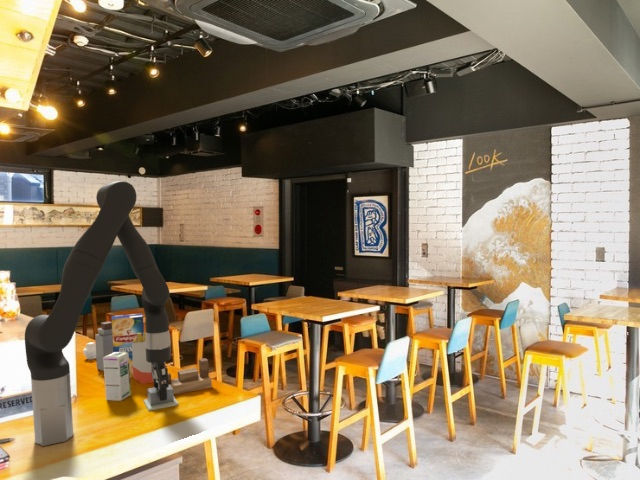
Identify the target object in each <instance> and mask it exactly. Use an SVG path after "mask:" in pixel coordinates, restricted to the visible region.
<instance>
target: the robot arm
mask: <svg viewBox="0 0 640 480" xmlns="http://www.w3.org/2000/svg"><path fill="white" fill-rule="evenodd" d="M137 198H138V197H137V191H136V189H135V187H134V186H133V184H131V183H130V182H127V181H125V180H124V181H122V180H119V181H113V182H109V183H107V184H105V185H102V186H101V187H100V188H99V189H98V190H97V192H96V203H97V206H98V207H99V209H100V210H99V212H98V214H97V216H96V218H95V219H94V221H93V222H92V223H91V224H90V226H88V228H87V229H86V231H85V232H83V234H82V235H81V236H80V237H79V239H78V241H76V243H75V244H74V246H73V247H72V249H71V251H70V254H69V255H68V257H67V258H66V261H65V262H64V266H63V270H62V273H61V274H62V275H61V285H60V291H59V295H58V298H57V300H56V302H55V304H54V306H53V307H52V309H51V311H50V313H49V314H40V315H38V316H35V317H33V318H32V319H31V320H30V321H29V322H28V323H27V325H26V327H25V331H24V345H25V347H24V349H25V356H26V364H27V367H28V370H29V371H30V382H31V397H32V401H31V402H32V416H33V417H32V418H33V430H34V442H35V444H37V445H40V446H41V447H46V446H50V445H55V444H59V443H64V442H68V441H69V439H71V438H72V436H73V435H74V424H73V423H74V422H73V406H72V404H73V403H72V390H71V389H72V388H71V370H70V363H69V361H68V359H66V357H65V355H64V353H63V350H64V349H65V348H66V347H67V346H68V345H69V344H70V342H71V340H72V339H73V336H74V334H75V331H76V328H77V325H78V323H79V320H80V316H81V314H82V312H83V309H84V307H85V304H86V301H88V298H89V296H90V294H91V291H92V289H93V288H94V285H95V283H96V281H97V279H98V277H99V276H100V274H101V271H102V269H103V268H104V265H105V263H106V261H107V258H108V257H109V253H110V251H111V250H112V247H113V245H114V244H115V241H116V238H118V241H119V242H120V244H121V246H122V248H123V250H124V252H125V255H126V257H127V260H128V262H129V264H130V267H131V269H132V271H133V273H134V275H135V277H136V278H137V279H138V280H139V282H140V283H141V286H142V290H141V301H142V306H143V307H142V308H143V312H144V313H143V314H144V318H145V319H144V320H145V321H144V325H145V326H144V327H145V328H144V329H145V333H146V336H145V345H146V361H147V362H149V363H151V369H152V374H151V376H152V377H153V381H154V380H155V381H154V382H153V388H154V387H158V388H159V399H160V401H163V400H167V388H168V387H169V384H168V373H169V371H168V370H169V369H168V367H167V365H166V362H167V361H170V360H171V359H172V346H171V345H172V344H171V334H170V324H169V323H170V322H169V320H170V319H169V314H168V313H167V310H166V303H167V302H168V301H169V299H170V294H171V293H170V288H169V286H168V283H167V282H166V280H165V278H164V277H163V275H162V273H161V272H160V270H159V268H158V265H157V263H156V260H155V257H154V255H153V253H152V250H151V248H150V246H149V245H148V243H147V242H146V240H145V239H144V238H143V236H142V235H141V233H139V231H138V229H137V228H136V226H135V225H134V223H133V221H132V219H131V217H130V213H131V212H132V210H133V209H134V207H135V205H136V202H137ZM164 362H165V364H164ZM162 381H164V383H165V384H162Z"/></svg>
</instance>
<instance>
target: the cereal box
mask: <svg viewBox="0 0 640 480" xmlns="http://www.w3.org/2000/svg"><path fill="white" fill-rule="evenodd" d="M143 314H144V313H142V312H140V313H131V314H119V315H112V316H111V319H110V321H111V322H112V335H113V352H128V354H129V369H130V378H132V377H133V378H134V376H133V356H132V343H134V342H133V340H134V339H135V340H136V341H137V333H141V336H143V333H145V328H144V327H145V326H144V315H143Z"/></svg>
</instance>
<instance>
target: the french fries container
mask: <svg viewBox="0 0 640 480" xmlns="http://www.w3.org/2000/svg"><path fill="white" fill-rule="evenodd" d="M145 336H146V332H144V333H143V336H141V333H137V341H136V340H135V339H134V340H133V342H134V343H132V356H133V379H135V380H136V381H138V382H139V383H141V384H150V383H154V381H155V380H154V381H153V377H152V376H151V374H152V369H151V363H149V362H147V361H146V345H145ZM164 364H165V365H166V362H164Z"/></svg>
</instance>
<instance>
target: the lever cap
mask: <svg viewBox="0 0 640 480" xmlns="http://www.w3.org/2000/svg"><path fill="white" fill-rule="evenodd" d="M146 389H147V391H146V392H147V393H146V394H147V399H148V402H149V404H150V406H154V405H159V404H164V403H169V402H174V398H175V396H174V394H173V388H172V387H171V385H169V387H168V388H167V400H163V401H160V399H159V388H158V387H154V386H153V387H149V388H146Z"/></svg>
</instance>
